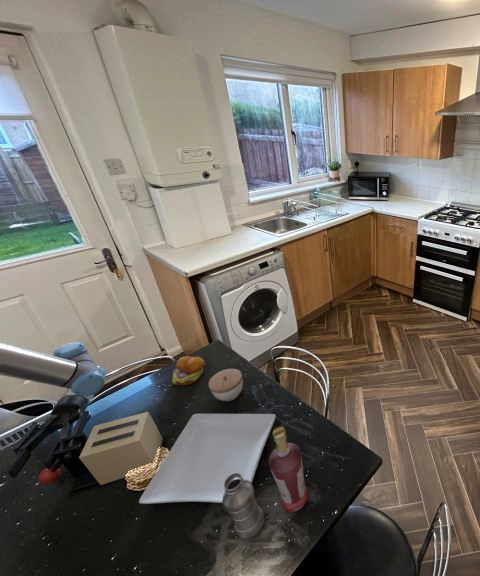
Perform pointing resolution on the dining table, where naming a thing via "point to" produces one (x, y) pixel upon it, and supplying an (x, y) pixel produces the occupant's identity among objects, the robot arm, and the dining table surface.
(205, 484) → the square plate
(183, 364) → the cheeseburger
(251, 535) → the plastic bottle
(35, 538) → the dining table surface
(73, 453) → the lever bracket
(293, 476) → the liquor
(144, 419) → the toaster
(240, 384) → the trinket box
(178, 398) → the dining table surface
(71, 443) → the lever
